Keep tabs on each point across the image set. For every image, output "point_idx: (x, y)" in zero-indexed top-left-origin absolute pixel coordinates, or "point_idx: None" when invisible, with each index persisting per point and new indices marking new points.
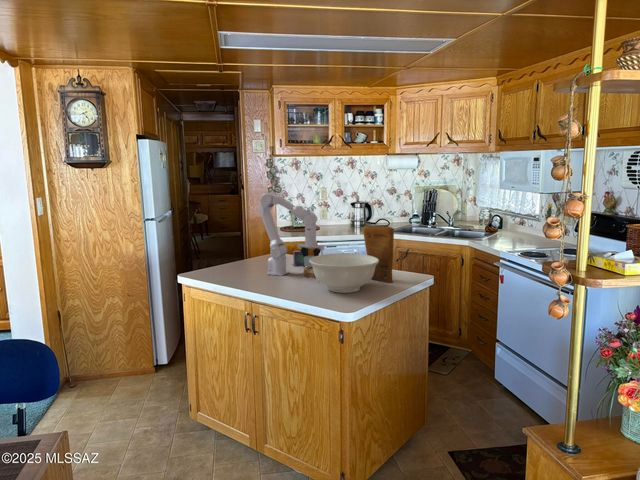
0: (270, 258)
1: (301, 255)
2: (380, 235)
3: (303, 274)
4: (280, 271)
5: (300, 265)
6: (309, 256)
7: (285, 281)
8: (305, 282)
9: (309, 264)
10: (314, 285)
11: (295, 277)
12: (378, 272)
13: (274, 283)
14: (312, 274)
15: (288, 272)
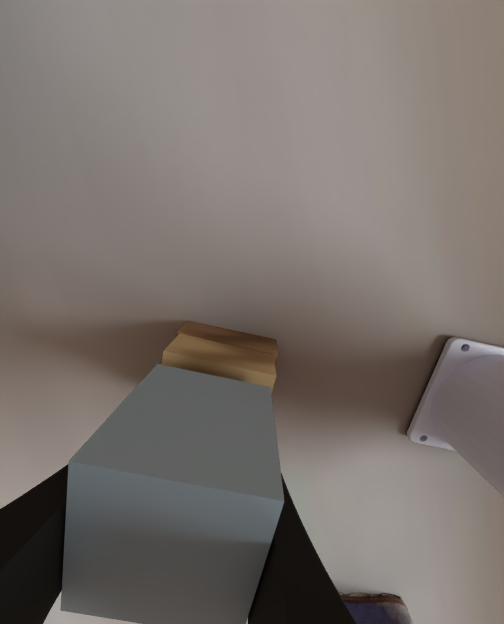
0: None
1: None
2: None
3: (272, 346)
4: (493, 370)
5: (357, 605)
6: (179, 546)
7: (392, 139)
8: (203, 137)
9: (194, 387)
10: (85, 24)
11: (330, 304)
12: None
13: (490, 25)
14: (186, 330)
15: (412, 426)
